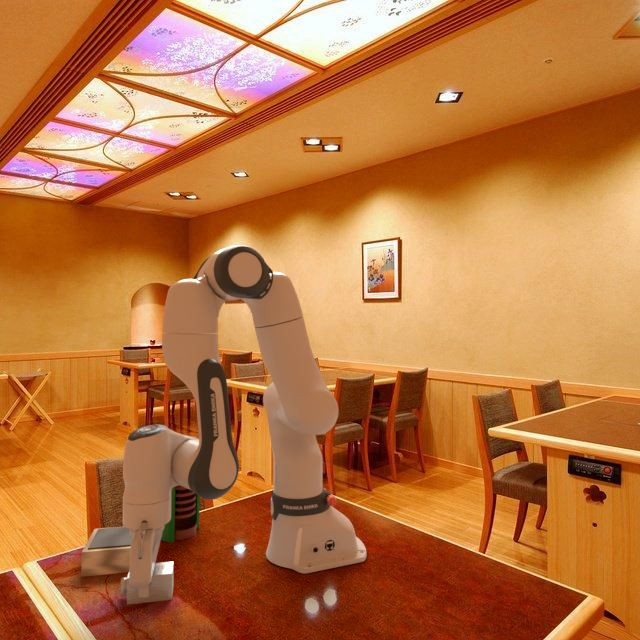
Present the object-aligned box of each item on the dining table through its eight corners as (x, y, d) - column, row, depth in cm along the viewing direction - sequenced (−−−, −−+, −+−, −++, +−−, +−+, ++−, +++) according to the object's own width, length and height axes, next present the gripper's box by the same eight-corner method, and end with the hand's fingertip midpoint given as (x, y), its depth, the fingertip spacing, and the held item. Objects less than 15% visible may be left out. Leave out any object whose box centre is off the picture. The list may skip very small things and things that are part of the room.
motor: (185, 543, 119) (185, 458, 119) (150, 540, 121) (151, 456, 121) (203, 526, 129) (204, 448, 129) (171, 524, 131) (171, 446, 131)
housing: (173, 586, 100) (173, 561, 100) (171, 600, 95) (172, 573, 95) (123, 592, 98) (123, 566, 98) (118, 606, 93) (118, 578, 93)
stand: (149, 546, 118) (149, 523, 118) (143, 570, 106) (143, 545, 106) (94, 550, 115) (94, 527, 115) (81, 576, 104) (81, 550, 104)
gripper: (159, 532, 88) (158, 613, 87) (168, 493, 108) (168, 559, 107) (120, 535, 86) (119, 617, 86) (137, 495, 106) (137, 561, 106)
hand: (146, 584), depth 97 cm, fingers open, 6 cm apart
